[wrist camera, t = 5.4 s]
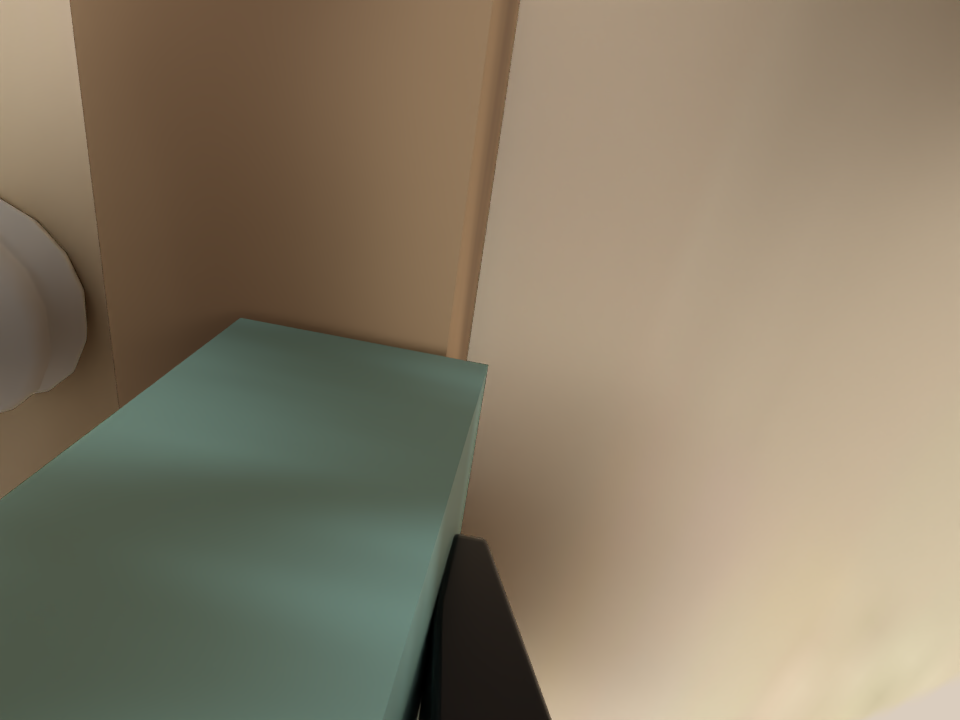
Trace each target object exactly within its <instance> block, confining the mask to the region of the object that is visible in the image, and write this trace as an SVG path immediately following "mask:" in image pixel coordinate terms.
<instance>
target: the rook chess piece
mask: <svg viewBox="0 0 960 720" xmlns="http://www.w3.org/2000/svg"><path fill="white" fill-rule="evenodd" d="M86 340H87V317H86V306H85V296H84V289H83V287H82V285H81V282H80V280H79V278H78V276H77V274H76V272H75V270H74V268H73V266H72V264H71V261H70V259H69V257H68V255H67V253H66V252H65V251H64V250H63V249H62V248H61V247H60V246H59V245H58V243H57V242H56V241H55V240H54V239H53V238H52V237H51V236H50V235H49V234H48V232H47V231H46V230H45V229H44V228H43V227H42V226H41V225H40V224H39V223H38V221H36V220H34V219H33V218H31V217H29V216H28V215H26V214H24V213H23V212H21V211H19V210H18V209H16V208H15V207H13V206H11V205H10V204H8V203H6V202H5V201H3V200H1V199H0V413H1V412H5V411H9V410H12V409H14V408H16V407H17V406H18V405H20V404H21V403H22V402H23V401H25V400H26V399H27V398H29V397H30V396H31V395H33V394H34V393H40V392H47V391H49V390H51V389H52V388H53V387H55V386H56V385H57V384H58V383H60V382H61V381H62V380H64V379H65V378H66V377H68V376H69V375H70V374H72V373H73V372H74V371H75V368H76V366H77V363H78V361H79V358H80V355H81V353H82V350H83V348H84V345H85V343H86Z"/></svg>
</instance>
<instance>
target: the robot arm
mask: <svg viewBox="0 0 960 720" xmlns="http://www.w3.org/2000/svg"><path fill="white" fill-rule="evenodd" d="M418 720H551V717H550V714H549V711H548V709H547V706H546V703H545V700H544V697H543V695H542V692H541V689H540V686H539V684H538V681H537V678H536V675H535V673H534V670H533V667H532V664H531V662H530V659H529V656H528V653H527V651H526V648H525V645H524V642H523V640H522V637H521V634H520V631H519V628H518V626H517V623H516V620H515V617H514V615H513V612H512V609H511V606H510V604H509V601H508V598H507V595H506V593H505V590H504V587H503V584H502V582H501V579H500V576H499V573H498V571H497V568H496V565H495V562H494V559H493V557H492V554H491V551H490V548H489V546H488V543H487V542H486V540H484V539H483V538H479V537H473V536H468V535H463V534H455V535H454V538H453V542H452V545H451V549H450V552H449V556H448V559H447V563H446V566H445V570H444V574H443V577H442V581H441V585H440V588H439V593H438V597H437V602H436V607H435V613H434V619H433V626H432V632H431V639H430V645H429V652H428V658H427V665H426V672H425V678H424V685H423V691H422V698H421V704H420V711H419V717H418Z"/></svg>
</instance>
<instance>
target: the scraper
mask: <svg viewBox="0 0 960 720" xmlns="http://www.w3.org/2000/svg"><path fill="white" fill-rule="evenodd" d="M519 5H520V0H70V7H71V15H72V24H73V32H74V40H75V48H76V57H77V65H78V73H79V81H80V89H81V98H82V106H83V114H84V122H85V131H86V139H87V147H88V155H89V163H90V172H91V180H92V188H93V196H94V205H95V213H96V221H97V229H98V237H99V246H100V254H101V262H102V270H103V279H104V287H105V295H106V303H107V311H108V320H109V328H110V336H111V344H112V353H113V361H114V369H115V377H116V385H117V394H118V402H119V410H118V411H116V412H115V413H114V414H113V415H111V416H110V417H109V418H107V419H106V420H105V421H103V422H102V423H101V424H99V425H98V426H97V427H95V428H94V429H93V430H91V431H90V432H89V433H87V434H86V435H85V436H83V437H82V438H81V439H79V440H78V441H77V442H76V443H74V444H73V445H72V446H70V447H69V448H68V449H66V450H65V451H64V452H62V453H61V454H60V455H58V456H57V457H56V458H54V459H53V460H52V461H50V462H49V463H48V464H46V465H45V466H44V467H42V468H41V469H40V470H38V471H37V472H36V473H35V474H33V475H32V476H31V477H29V478H28V479H27V480H25V481H24V482H23V483H21V484H20V485H19V486H17V487H16V488H15V489H13V490H12V491H11V492H9V493H8V494H7V495H5V496H4V497H3V498H1V499H0V720H418V717H419V711H420V704H421V698H422V691H423V685H424V678H425V672H426V665H427V658H428V652H429V645H430V639H431V632H432V626H433V619H434V613H435V607H436V602H437V597H438V593H439V588H440V585H441V581H442V577H443V574H444V570H445V566H446V563H447V559H448V556H449V552H450V549H451V545H452V542H453V538H454V535H455V534H460V533H461V527H462V521H463V515H464V509H465V502H466V496H467V490H468V484H469V478H470V472H471V466H472V460H473V454H474V448H475V442H476V436H477V430H478V424H479V418H480V412H481V406H482V400H483V394H484V388H485V382H486V376H487V369H488V365H486V364H481V363H475V362H470V361H467V355H468V348H469V342H470V335H471V328H472V321H473V315H474V308H475V301H476V295H477V288H478V281H479V274H480V268H481V261H482V254H483V247H484V241H485V234H486V227H487V220H488V214H489V207H490V200H491V193H492V187H493V180H494V173H495V166H496V160H497V153H498V146H499V140H500V133H501V126H502V119H503V113H504V106H505V99H506V92H507V86H508V79H509V72H510V65H511V59H512V52H513V45H514V38H515V32H516V25H517V18H518V11H519Z"/></svg>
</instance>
